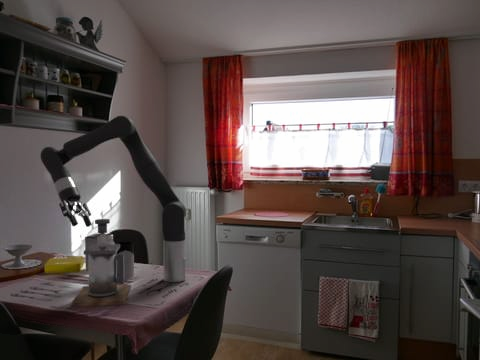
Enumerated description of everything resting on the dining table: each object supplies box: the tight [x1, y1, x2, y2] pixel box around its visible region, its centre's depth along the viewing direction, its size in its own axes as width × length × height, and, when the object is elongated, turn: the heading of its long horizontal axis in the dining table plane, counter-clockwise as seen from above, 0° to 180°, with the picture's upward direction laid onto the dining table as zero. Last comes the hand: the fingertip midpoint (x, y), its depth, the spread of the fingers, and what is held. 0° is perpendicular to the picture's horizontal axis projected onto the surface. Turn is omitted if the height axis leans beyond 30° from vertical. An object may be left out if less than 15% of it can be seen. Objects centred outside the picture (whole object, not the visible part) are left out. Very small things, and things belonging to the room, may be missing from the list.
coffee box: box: [84, 233, 100, 273], centre depth 188 cm, size 9×6×16 cm
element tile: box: [44, 255, 85, 275], centre depth 190 cm, size 15×15×5 cm
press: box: [83, 243, 125, 298], centre depth 151 cm, size 13×11×17 cm
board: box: [71, 284, 132, 308], centre depth 152 cm, size 18×18×2 cm
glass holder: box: [115, 241, 136, 282], centre depth 179 cm, size 9×14×15 cm, turn 20°
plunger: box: [94, 218, 111, 248], centre depth 150 cm, size 5×5×11 cm
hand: (82, 225), depth 161 cm, fingers open, 8 cm apart
